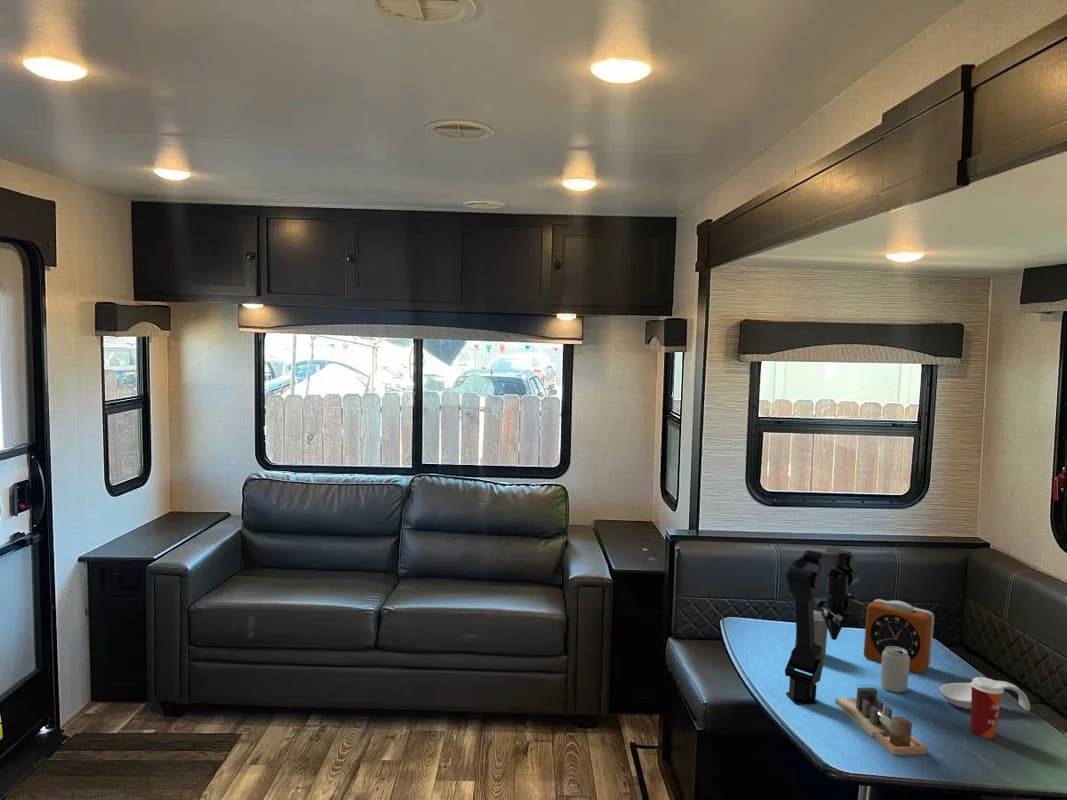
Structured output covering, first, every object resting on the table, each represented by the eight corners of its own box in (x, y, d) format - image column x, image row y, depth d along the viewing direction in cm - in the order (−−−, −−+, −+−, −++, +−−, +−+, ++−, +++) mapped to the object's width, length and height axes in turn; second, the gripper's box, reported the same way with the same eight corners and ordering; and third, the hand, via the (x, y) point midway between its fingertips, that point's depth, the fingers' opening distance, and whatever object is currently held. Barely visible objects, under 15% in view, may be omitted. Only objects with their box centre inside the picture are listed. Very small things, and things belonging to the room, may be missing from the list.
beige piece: (871, 736, 204) (872, 716, 203) (835, 702, 223) (836, 684, 222) (907, 735, 205) (908, 716, 205) (868, 702, 224) (869, 683, 223)
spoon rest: (951, 713, 220) (953, 688, 219) (932, 694, 231) (934, 670, 231) (1037, 718, 219) (1039, 693, 218) (1013, 698, 230) (1015, 675, 230)
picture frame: (892, 754, 195) (893, 748, 195) (875, 738, 203) (875, 732, 203) (926, 754, 196) (926, 747, 196) (907, 737, 204) (908, 731, 204)
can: (910, 695, 229) (913, 655, 229) (883, 692, 231) (886, 652, 230) (903, 684, 237) (906, 646, 236) (877, 681, 238) (880, 643, 237)
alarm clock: (862, 658, 256) (866, 597, 254) (871, 650, 262) (875, 591, 261) (923, 675, 244) (928, 611, 242) (930, 667, 250) (935, 605, 249)
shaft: (883, 732, 203) (885, 711, 202) (855, 708, 216) (857, 687, 216) (901, 732, 203) (903, 711, 203) (872, 707, 217) (874, 687, 216)
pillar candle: (788, 651, 259) (791, 607, 258) (810, 647, 264) (813, 604, 262) (809, 662, 251) (813, 617, 249) (832, 658, 255) (835, 614, 253)
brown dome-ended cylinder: (894, 748, 198) (896, 725, 197) (886, 738, 202) (888, 716, 202) (913, 748, 198) (915, 726, 197) (904, 738, 202) (906, 716, 202)
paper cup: (999, 743, 203) (1003, 691, 202) (965, 734, 207) (970, 683, 206) (999, 731, 210) (1004, 681, 208) (967, 723, 214) (971, 673, 212)
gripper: (878, 600, 229) (875, 651, 230) (847, 579, 247) (843, 627, 249) (842, 600, 228) (839, 652, 229) (813, 580, 246) (810, 627, 247)
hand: (833, 639), depth 238 cm, fingers closed
